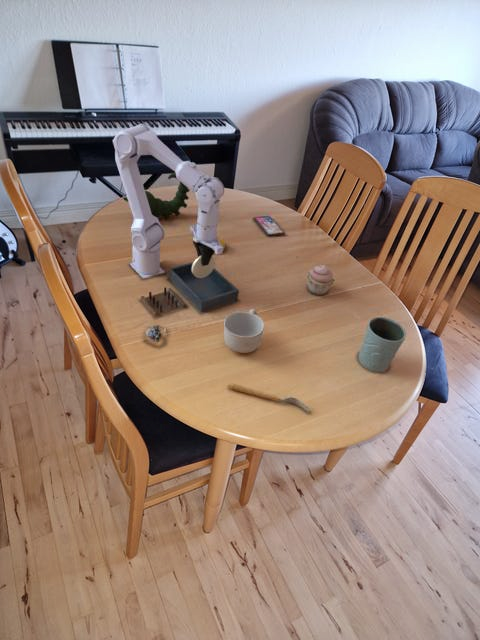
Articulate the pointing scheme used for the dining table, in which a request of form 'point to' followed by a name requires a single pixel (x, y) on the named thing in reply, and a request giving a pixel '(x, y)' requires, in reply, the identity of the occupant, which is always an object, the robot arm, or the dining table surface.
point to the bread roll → (221, 242)
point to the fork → (253, 392)
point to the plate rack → (163, 302)
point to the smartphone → (268, 225)
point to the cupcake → (320, 279)
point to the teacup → (243, 331)
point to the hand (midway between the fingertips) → (203, 263)
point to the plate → (202, 268)
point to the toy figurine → (167, 202)
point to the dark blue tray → (203, 287)
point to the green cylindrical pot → (381, 343)
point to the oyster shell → (154, 332)
